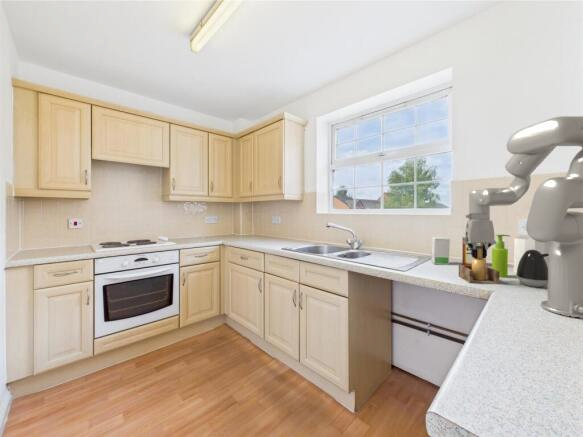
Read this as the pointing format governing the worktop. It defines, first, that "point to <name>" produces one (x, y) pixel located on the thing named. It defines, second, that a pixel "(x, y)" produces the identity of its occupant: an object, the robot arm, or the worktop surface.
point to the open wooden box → (467, 275)
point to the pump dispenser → (533, 269)
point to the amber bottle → (479, 265)
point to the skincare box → (440, 250)
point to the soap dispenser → (500, 257)
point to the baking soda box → (467, 253)
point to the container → (528, 248)
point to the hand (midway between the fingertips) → (478, 257)
